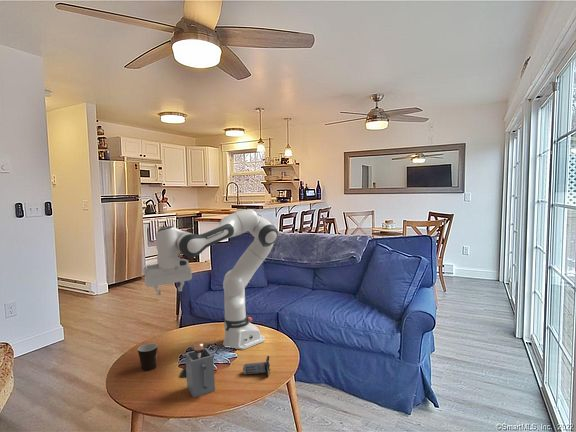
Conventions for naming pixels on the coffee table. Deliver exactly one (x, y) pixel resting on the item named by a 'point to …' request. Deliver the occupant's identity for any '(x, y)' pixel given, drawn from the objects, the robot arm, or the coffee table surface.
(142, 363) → the coffee mug
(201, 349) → the ball-topped press plunger
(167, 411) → the coffee table surface
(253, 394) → the coffee table surface
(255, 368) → the beverage can
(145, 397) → the coffee table surface
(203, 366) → the box
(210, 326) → the coffee table surface
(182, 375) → the phone
